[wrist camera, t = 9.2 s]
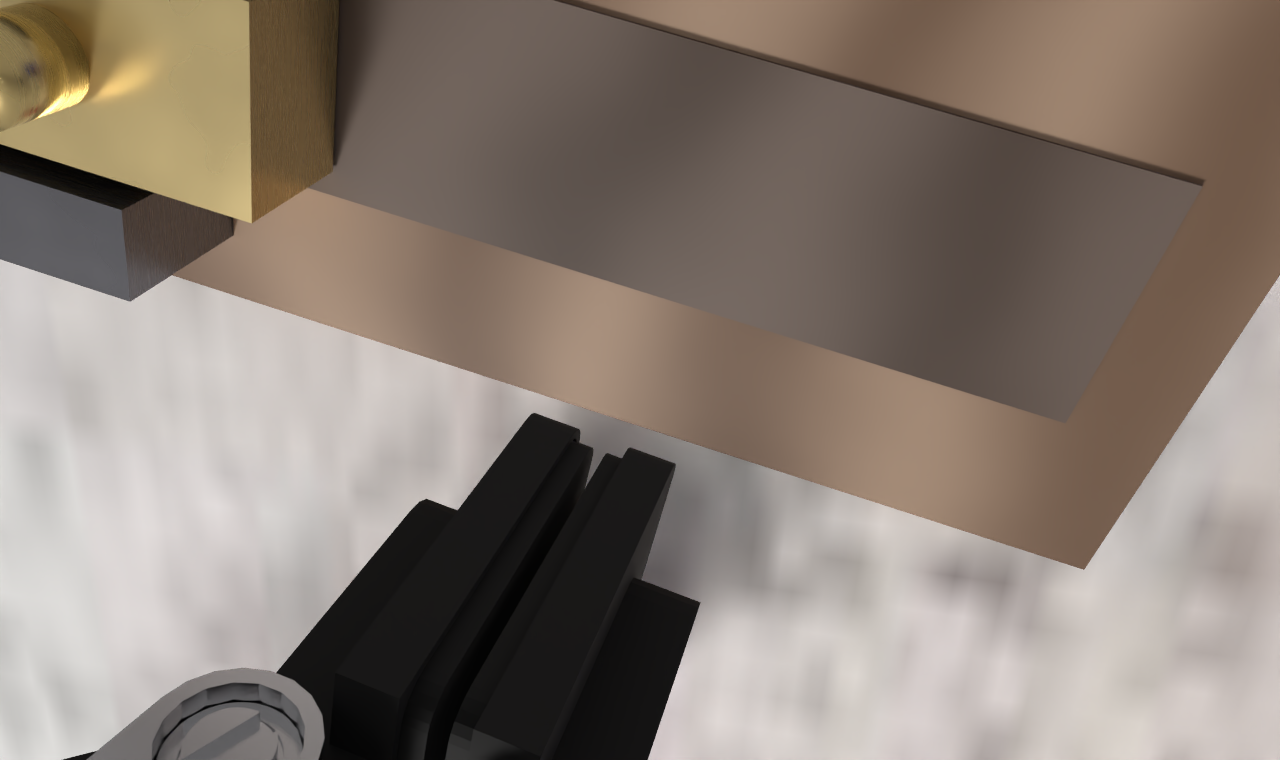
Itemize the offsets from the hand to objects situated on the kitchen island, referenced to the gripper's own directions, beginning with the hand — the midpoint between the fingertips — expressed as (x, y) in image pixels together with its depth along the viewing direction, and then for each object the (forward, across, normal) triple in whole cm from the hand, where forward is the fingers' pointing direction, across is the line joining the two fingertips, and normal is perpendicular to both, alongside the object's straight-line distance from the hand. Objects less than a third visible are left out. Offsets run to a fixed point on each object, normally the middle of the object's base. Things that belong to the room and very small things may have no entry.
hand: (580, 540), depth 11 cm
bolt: (+9, +13, -1) cm, 16 cm away
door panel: (+11, +5, -1) cm, 12 cm away
